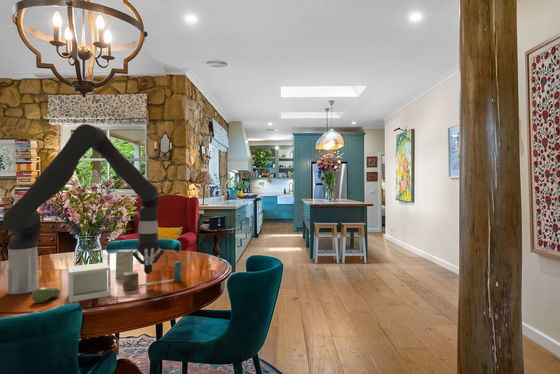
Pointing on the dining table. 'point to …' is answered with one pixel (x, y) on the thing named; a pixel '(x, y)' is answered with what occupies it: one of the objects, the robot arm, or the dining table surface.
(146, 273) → the robot arm
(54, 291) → the pear
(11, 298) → the dining table surface
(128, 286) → the block with cord
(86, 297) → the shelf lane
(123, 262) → the skincare box
